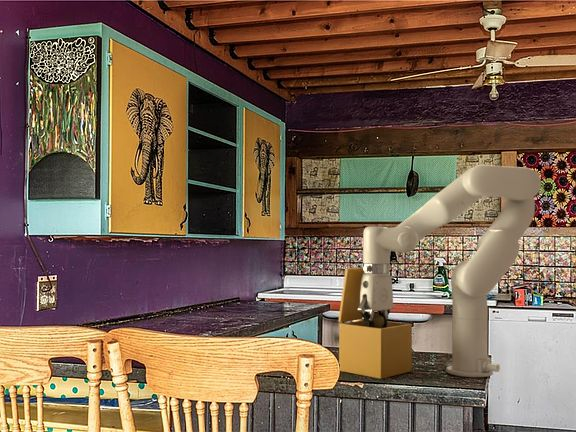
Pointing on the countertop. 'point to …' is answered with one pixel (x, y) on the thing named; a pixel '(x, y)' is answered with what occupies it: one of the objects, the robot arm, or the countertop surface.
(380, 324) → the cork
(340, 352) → the chest
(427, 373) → the countertop surface
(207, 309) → the countertop surface
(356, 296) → the lid
